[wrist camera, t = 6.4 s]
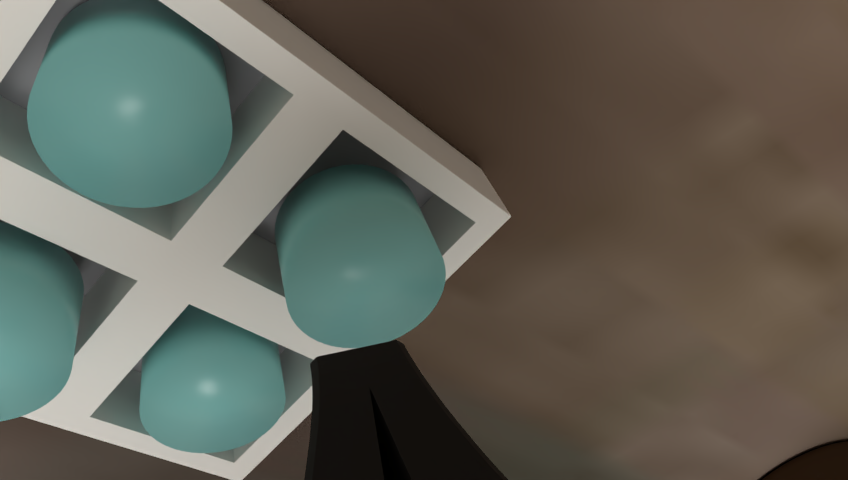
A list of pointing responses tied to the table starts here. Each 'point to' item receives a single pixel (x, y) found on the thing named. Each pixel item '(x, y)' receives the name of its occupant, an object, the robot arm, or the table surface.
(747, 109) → the table surface
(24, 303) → the button
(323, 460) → the robot arm
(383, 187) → the button
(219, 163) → the button
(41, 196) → the button board
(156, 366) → the button
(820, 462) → the olive oil
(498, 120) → the table surface
